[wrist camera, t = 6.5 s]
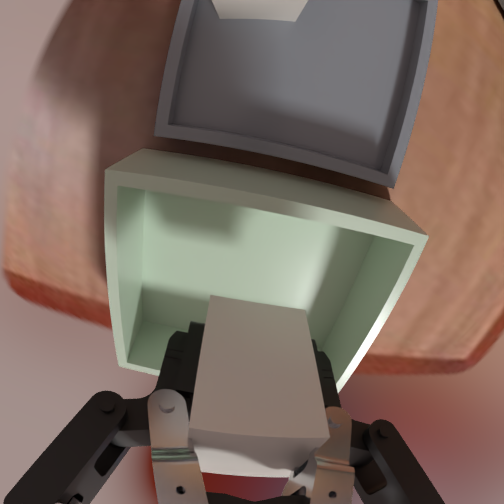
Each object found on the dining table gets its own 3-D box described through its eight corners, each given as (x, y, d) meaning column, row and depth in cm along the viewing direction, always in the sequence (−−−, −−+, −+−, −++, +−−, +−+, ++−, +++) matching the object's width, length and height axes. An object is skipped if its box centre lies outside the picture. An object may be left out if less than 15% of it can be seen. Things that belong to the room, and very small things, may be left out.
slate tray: (209, -58, 8) (205, -70, 7) (424, 3, 10) (438, -2, 8) (162, 132, 14) (153, 135, 13) (382, 180, 15) (393, 188, 14)
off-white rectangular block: (210, 294, 12) (188, 427, 7) (304, 309, 12) (330, 437, 7) (201, 357, 14) (184, 469, 9) (280, 368, 14) (288, 476, 9)
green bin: (142, 148, 14) (104, 169, 10) (391, 201, 16) (429, 236, 12) (137, 319, 20) (118, 365, 16) (324, 348, 21) (335, 396, 17)
